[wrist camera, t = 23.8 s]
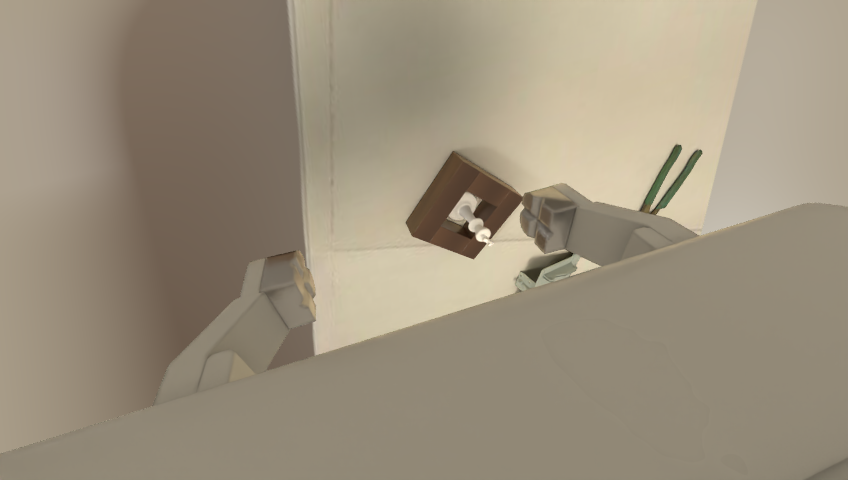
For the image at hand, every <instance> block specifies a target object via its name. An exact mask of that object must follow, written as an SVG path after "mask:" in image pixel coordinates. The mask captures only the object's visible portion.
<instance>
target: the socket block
mask: <svg viewBox="0 0 848 480" xmlns="http://www.w3.org/2000/svg"><path fill="white" fill-rule="evenodd" d="M466 191H468V192H469V193H471V194H473V195H475V196H477V197H479V198H481V199H483V201H482V202H481V204H480V205H479V206H478V207H477V209H476V210H475V211H474V213H473V215H474V217H475V218H480V219H482V221H483V227H485V228H487V229H489V230H490V232H491V235H490V237H489V239H491V238H492V237H493V235H494V234H495V233H496V232H497V230H498V229H499V228H500V227H501V226H502V224H503V223H504V222H505V221H506V220H507V218H508V217H509V216H510V215H511V213H512V212H513V211H514V210H515V209H516V207H517V206H518V205H519V204H520V203H521V201H522V198H523V197H522V196H521V195H520V194H519V193H518V192H517V191H516V190H514V189H513V188H512V187H511V186H509V185H507V184H506V183H504V182H503V181H501V180H499V179H498V178H496V177H494V176H493V175H491V174H490V173H488V172H486V171H485V170H483V169H481V168H480V167H478V166H477V165H475V164H473V163H472V162H470V161H468V160H467V159H465V158H464V157H462V156H460V155H459V154H457V153H455V152H454V151H453V152H452V154H451V155H450V157H449V158H448V160H447V161H446V163H445V164H444V166H443V167H442V169H441V170H440V172H439V173H438V175H437V176H436V178H435V179H434V181H433V182H432V184H431V185H430V187H429V188H428V190H427V191H426V193H425V194H424V196H423V197H422V199H421V200H420V202H419V203H418V205H417V207H416V208H415V210H414V211H413V213H412V214H411V216H410V217H409V219H408V220H407V222H406V224H407V226H408V228H409V231H410V233H411V235H412V236H413V237H416V238H418V239H421V240H424V241H426V242H429V243H432V244H434V245H437V246H440V247H442V248H445V249H448V250H450V251H453V252H456V253H458V254H461V255H464V256H466V257H469V258H472V259H474V258H475V257H476V256H477V255H478V254H479V252H480V251H481V250H482V249H483V247H484V246H485V245H486V244H487V243H486V242H484V241H483V242H480V241H478V240H477V239H476V234H475V232H472V231H470V230H469V228H468V226H469V222H468V221H467V222H466V223H465V225H464V226H463V227H462V226H460V225H458V224H455V223H453V222H451V221H449V220H446V218H447V217H448V216H449V214H450V213H451V212H452V210H453V209H454V207H455V206H456V205H457V203H458V202H459V200H460V199H461V198H462V196H463V195H464V194H465V192H466Z"/></svg>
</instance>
